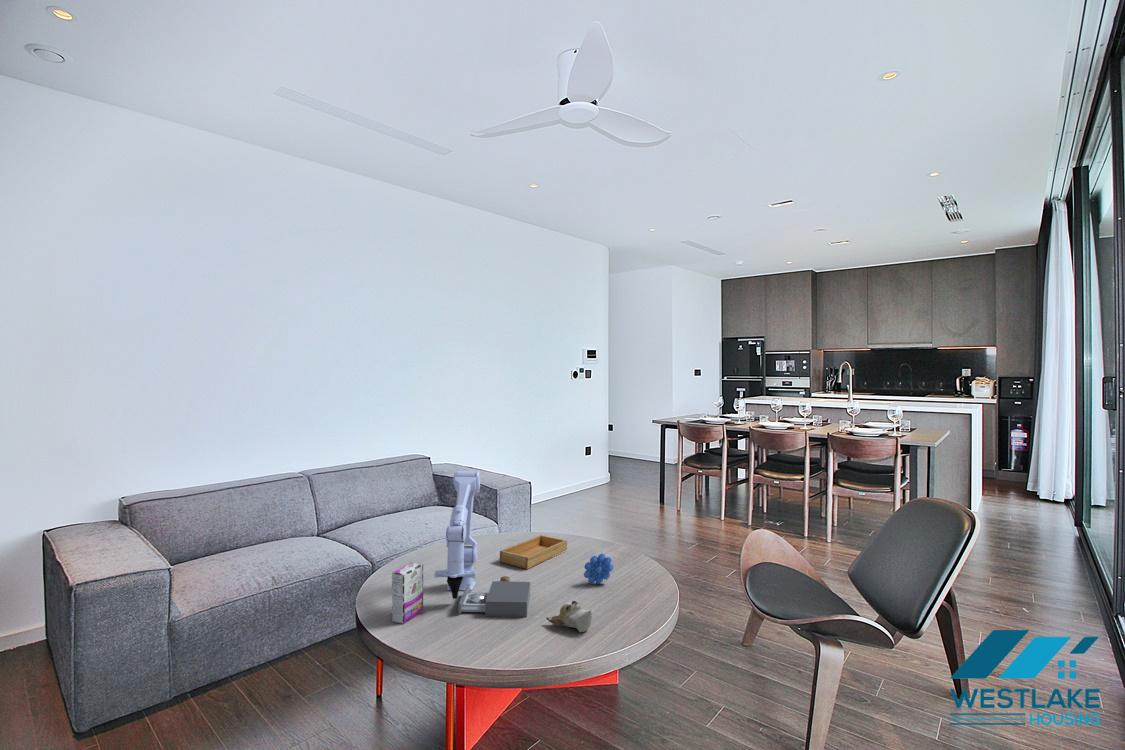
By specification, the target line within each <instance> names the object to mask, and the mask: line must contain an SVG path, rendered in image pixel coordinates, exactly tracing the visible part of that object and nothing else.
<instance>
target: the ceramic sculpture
mask: <svg viewBox="0 0 1125 750" xmlns="http://www.w3.org/2000/svg"><path fill="white" fill-rule="evenodd" d="M559 610H560V611H559V614H558V615H553V616H552V617H545V619H546V620H547V621H548V622H550V623H551V624H553V625H554V626H564V627H568V628H575V629H576V630H577V631H578V632H579V633H585V632H587V631H588V630H589V628H590V627H591V623H592V620H593V619H592V617H593V615H592V614H593V613H592V610H590V609H588V610H587V609H583V607H581V605H580V603H579V602H577V601H575V600H572V601H570V602H567V603H565V604H563V605H562V606H561V607H560V609H559Z"/></svg>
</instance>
